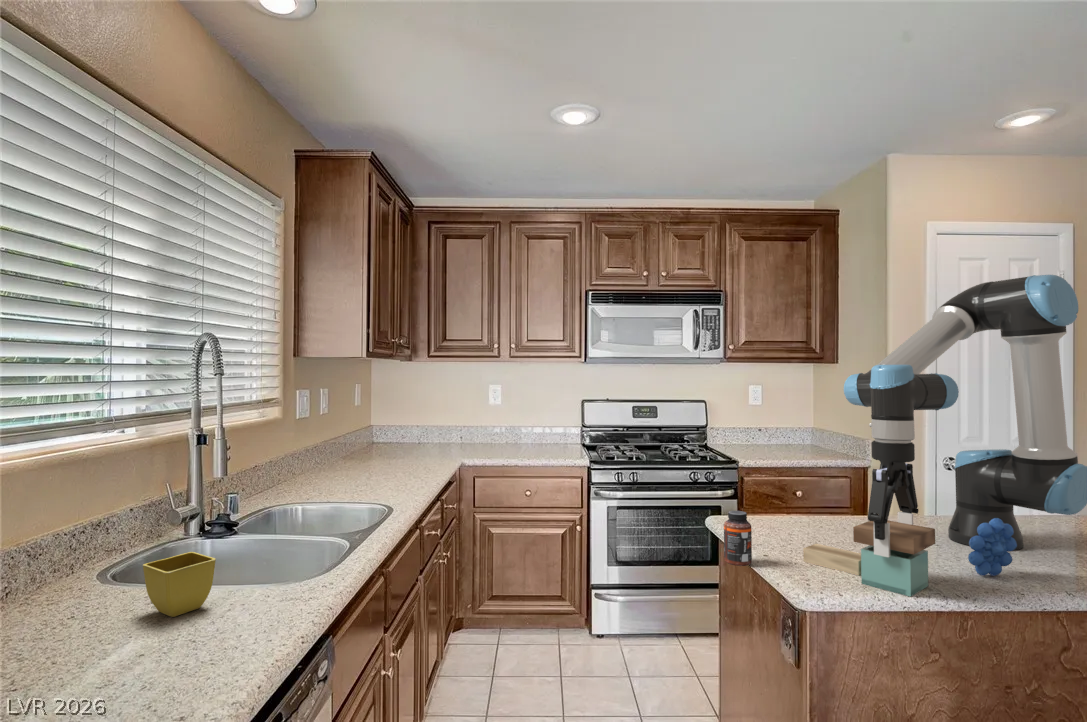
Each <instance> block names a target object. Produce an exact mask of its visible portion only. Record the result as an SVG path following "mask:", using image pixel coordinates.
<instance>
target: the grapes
mask: <svg viewBox="0 0 1087 722" xmlns="http://www.w3.org/2000/svg"><path fill="white" fill-rule="evenodd" d="M977 533H978V534H979V536H973V537H972V538H971V539H970V540H969V545H968V546H969V547H970V549H971V550H972V551H971V552H969V554H968V555H967V556H968V557H967V558H968V562H969V564H970V565H973V566H974V570H975V572H976V573H977V574H978V575H979V576H987V575H988V574H989V575H990V576H991V577H994V576H995V577H996V576H999V575H1000V574H1001V573H1003V567H1008V566H1010V565H1011V563H1013V556H1012V554H1011V553H1010V552H1013V551H1015V550H1014V549H1015V548H1016V547H1017V543H1016V541H1015V539H1014V538H1012V537H1011V536H1012V535H1013V533H1014V530H1013V528H1012V526H1011V525H1009V524H1004V523H1003V521H1002V520H1001V519H999V518H994V519H992V520H991V521H990V522H989V523H982V524H980V525H979V526H978V527H977Z"/></svg>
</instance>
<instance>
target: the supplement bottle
mask: <svg viewBox="0 0 1087 722" xmlns="http://www.w3.org/2000/svg"><path fill="white" fill-rule="evenodd" d="M727 514H728V516H727V518H728V519H727V520H725V521H724V523H723V557H724V562H725V563H727V564H729V565H731V566H735V567H736V566H737V567H738V566H739V567H746V566H749V565H751V564H752V559H753V558H752V556H753V554H752V553H753V551H752V550H753V549H752V543H753V542H752V525H751V523H750V522H749V521H748V515H747V514H748V513H747V512H746V511H741V510H730V511H728V513H727Z"/></svg>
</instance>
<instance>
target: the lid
mask: <svg viewBox="0 0 1087 722" xmlns="http://www.w3.org/2000/svg"><path fill="white" fill-rule="evenodd" d="M887 523H890V550H895V551H899V552H904V553H909V554H916V553H918V552H920V551H922V550H926V549H928V548H930V547H931V546H934V545H935V544H936V529H935V528H933V527H927V526H923V525H915V524H913V525H911V524H905V523H900V522H898V521H893V520H888V521H887ZM852 529H853V542H854V543H858V544H863V545H866V546H869V545H871V546H874V525H873V521H869V520H867V521H866V522H864V523H860V524H857V525H855V526H853V528H852Z"/></svg>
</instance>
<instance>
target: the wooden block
mask: <svg viewBox="0 0 1087 722" xmlns="http://www.w3.org/2000/svg"><path fill="white" fill-rule="evenodd" d="M802 550H803V552H802V554H803V557H802V558H803V563H807V564H812V565H816V566H820V567H824V568H827V569H830V568H831V570H834V569H835V570H836V571H838V570H839V572H842V571H844V572H843V573H846V572H847V573H846V574H850V573H851V575H854V574H855V576H861V552H857V551H856V552H855V551H852V550H847V549H842V548H838V547H834V546H829V545H825V544H820V543H814V544H811V545H808V546H806V547H803V548H802ZM835 570H834V571H835Z"/></svg>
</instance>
